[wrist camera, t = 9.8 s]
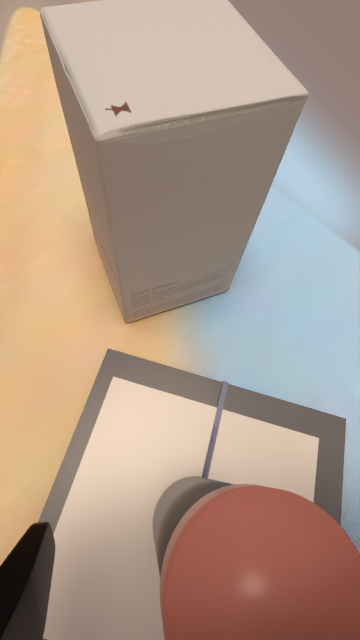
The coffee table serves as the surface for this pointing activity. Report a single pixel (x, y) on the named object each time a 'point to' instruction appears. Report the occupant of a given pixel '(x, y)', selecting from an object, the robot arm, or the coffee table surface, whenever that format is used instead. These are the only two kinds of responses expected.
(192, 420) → the grey framed board
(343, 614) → the ball
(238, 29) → the supplement box
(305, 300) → the coffee table surface
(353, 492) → the coffee table surface
